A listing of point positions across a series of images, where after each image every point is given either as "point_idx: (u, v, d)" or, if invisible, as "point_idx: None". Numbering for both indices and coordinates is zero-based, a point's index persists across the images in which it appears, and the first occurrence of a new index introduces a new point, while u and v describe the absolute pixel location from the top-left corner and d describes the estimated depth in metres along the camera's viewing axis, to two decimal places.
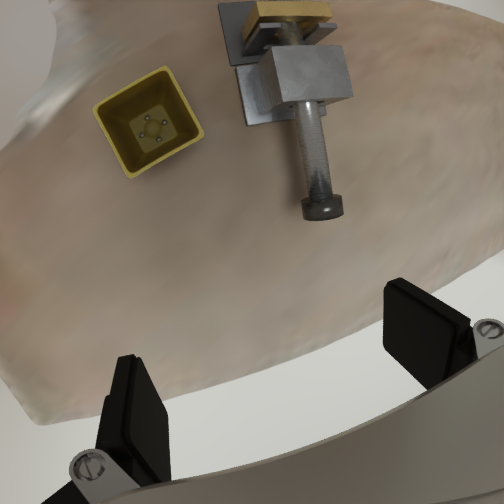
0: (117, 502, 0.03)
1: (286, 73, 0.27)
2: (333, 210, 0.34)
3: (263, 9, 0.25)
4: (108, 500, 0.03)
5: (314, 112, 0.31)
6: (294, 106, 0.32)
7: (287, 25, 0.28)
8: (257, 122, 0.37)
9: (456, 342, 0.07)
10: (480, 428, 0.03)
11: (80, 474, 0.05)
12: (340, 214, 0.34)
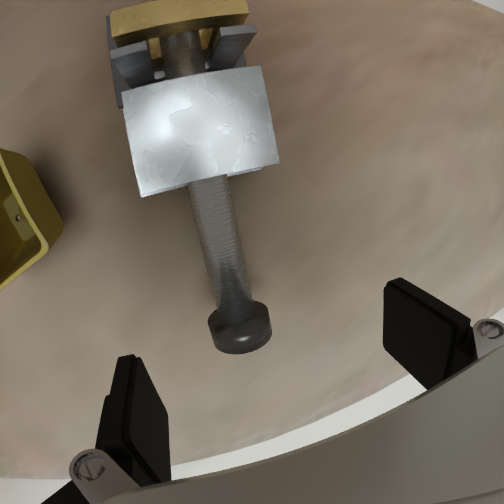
0: (117, 502, 0.03)
1: (147, 139, 0.16)
2: (249, 342, 0.23)
3: (119, 23, 0.14)
4: (108, 500, 0.03)
5: (214, 191, 0.20)
6: None
7: (172, 40, 0.16)
8: (154, 192, 0.26)
9: (456, 342, 0.07)
10: (480, 428, 0.03)
11: (80, 474, 0.05)
12: (262, 343, 0.23)
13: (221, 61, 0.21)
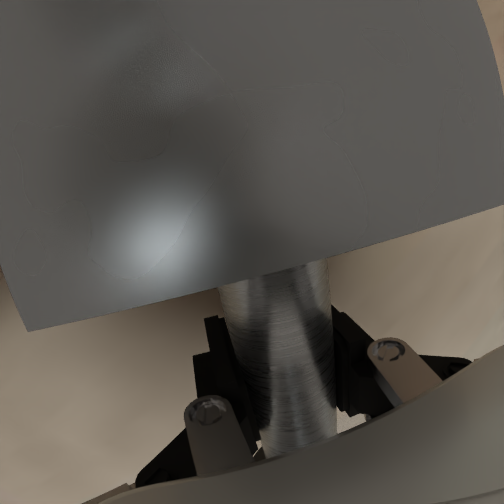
0: (117, 502, 0.03)
1: (29, 71, 0.02)
2: None
3: None
4: (108, 500, 0.03)
5: (296, 267, 0.07)
6: None
7: None
8: None
9: (349, 360, 0.08)
10: (480, 428, 0.03)
11: (195, 416, 0.07)
12: None
13: None
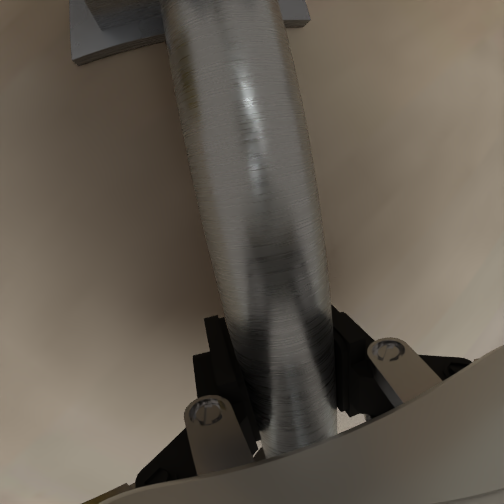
0: (117, 502, 0.03)
1: None
2: None
3: None
4: (108, 500, 0.03)
5: (296, 265, 0.07)
6: (202, 222, 0.07)
7: None
8: (97, 48, 0.10)
9: (350, 360, 0.08)
10: (480, 428, 0.03)
11: (196, 416, 0.07)
12: None
13: None
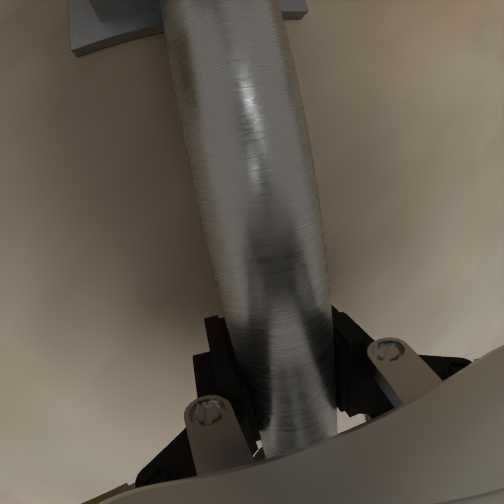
0: (117, 502, 0.03)
1: None
2: None
3: None
4: (108, 500, 0.03)
5: (296, 266, 0.07)
6: (202, 222, 0.07)
7: None
8: (96, 39, 0.10)
9: (350, 360, 0.08)
10: (480, 428, 0.03)
11: (196, 416, 0.07)
12: None
13: None
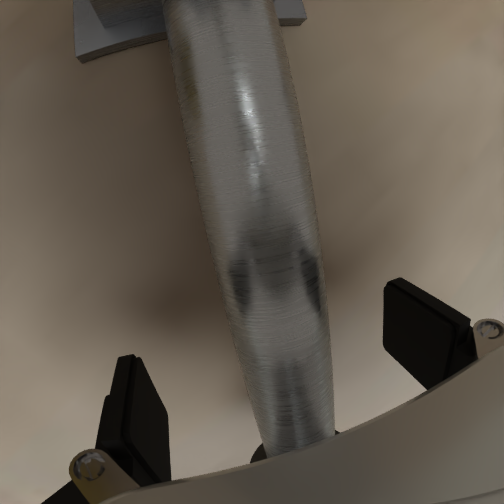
0: (117, 502, 0.03)
1: None
2: None
3: None
4: (108, 500, 0.03)
5: (293, 266, 0.07)
6: (205, 225, 0.08)
7: None
8: (100, 45, 0.10)
9: (456, 342, 0.07)
10: (480, 428, 0.03)
11: (80, 474, 0.05)
12: None
13: None
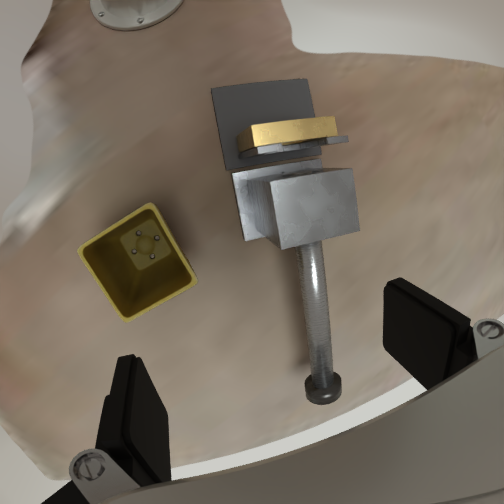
0: (117, 502, 0.03)
1: (286, 215, 0.27)
2: (332, 397, 0.36)
3: (259, 136, 0.27)
4: (108, 500, 0.03)
5: (323, 322, 0.34)
6: (305, 313, 0.34)
7: None
8: (255, 237, 0.37)
9: (456, 342, 0.07)
10: (480, 428, 0.03)
11: (80, 474, 0.05)
12: (338, 397, 0.36)
13: None
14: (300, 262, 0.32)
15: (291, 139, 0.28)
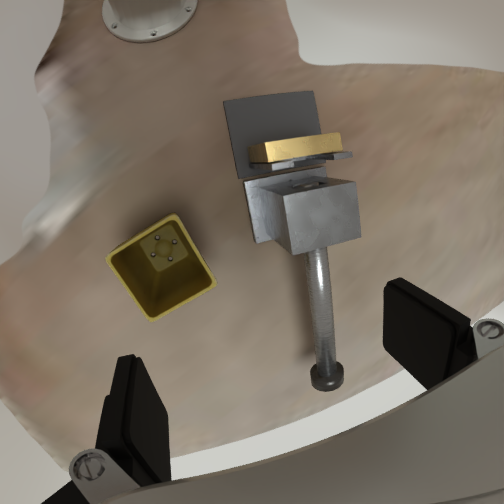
0: (117, 502, 0.03)
1: (297, 225, 0.30)
2: (335, 385, 0.40)
3: (272, 152, 0.30)
4: (108, 500, 0.03)
5: (328, 317, 0.37)
6: (311, 309, 0.38)
7: None
8: (265, 240, 0.41)
9: (456, 342, 0.07)
10: (480, 428, 0.03)
11: (80, 474, 0.05)
12: (340, 384, 0.41)
13: None
14: (307, 264, 0.36)
15: (301, 155, 0.31)
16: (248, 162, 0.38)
